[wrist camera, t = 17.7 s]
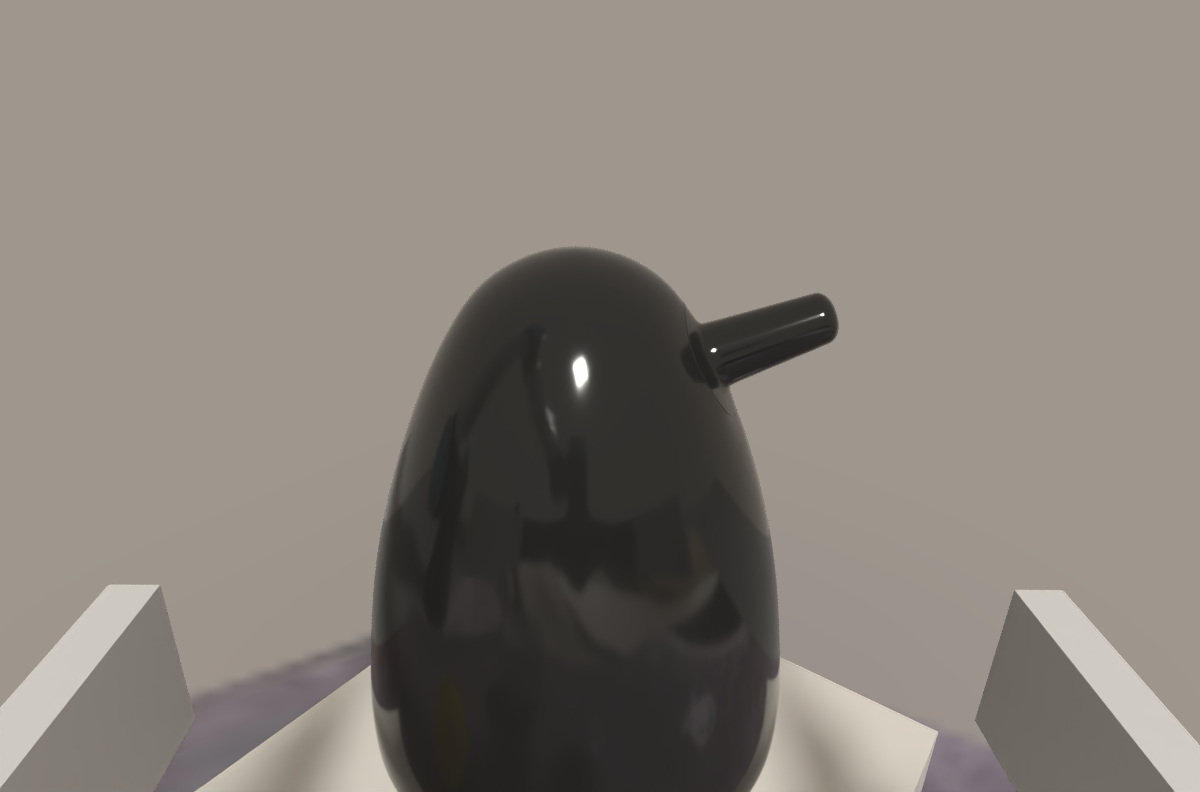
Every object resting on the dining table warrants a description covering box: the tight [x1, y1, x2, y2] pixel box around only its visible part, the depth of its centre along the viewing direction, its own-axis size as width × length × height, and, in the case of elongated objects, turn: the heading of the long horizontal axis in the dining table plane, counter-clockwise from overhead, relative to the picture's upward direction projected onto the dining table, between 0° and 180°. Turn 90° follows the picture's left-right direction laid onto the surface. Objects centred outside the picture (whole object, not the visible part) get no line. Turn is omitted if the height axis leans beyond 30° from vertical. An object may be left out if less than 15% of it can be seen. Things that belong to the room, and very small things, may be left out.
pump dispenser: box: [371, 247, 839, 792], centre depth 18 cm, size 10×10×15 cm
